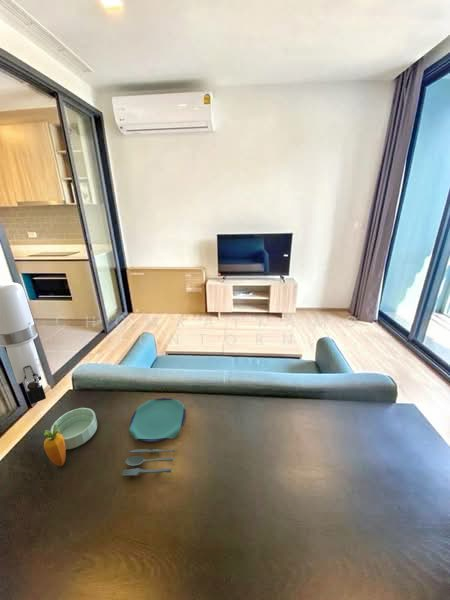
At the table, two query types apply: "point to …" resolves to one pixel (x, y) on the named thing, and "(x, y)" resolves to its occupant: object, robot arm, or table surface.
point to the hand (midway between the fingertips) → (36, 390)
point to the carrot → (55, 447)
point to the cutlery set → (155, 429)
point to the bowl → (76, 426)
